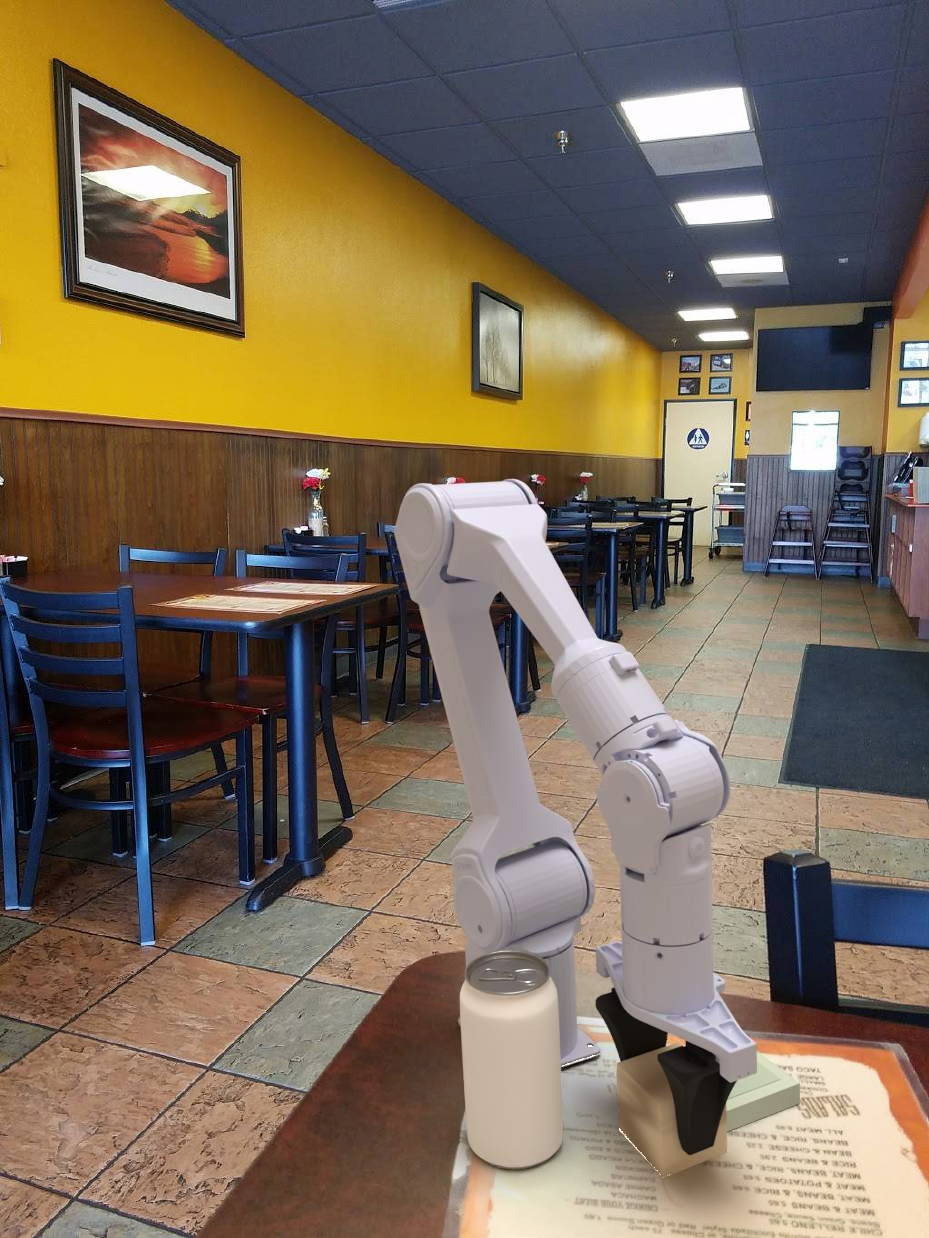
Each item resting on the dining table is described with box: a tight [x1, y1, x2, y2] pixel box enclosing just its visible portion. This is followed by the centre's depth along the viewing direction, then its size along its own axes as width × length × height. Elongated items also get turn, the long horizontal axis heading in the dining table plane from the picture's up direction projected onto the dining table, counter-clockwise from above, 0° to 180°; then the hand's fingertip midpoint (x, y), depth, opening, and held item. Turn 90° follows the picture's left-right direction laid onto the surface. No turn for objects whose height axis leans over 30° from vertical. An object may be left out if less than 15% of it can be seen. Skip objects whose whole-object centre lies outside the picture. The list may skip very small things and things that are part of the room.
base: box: [726, 1050, 801, 1133], centre depth 68 cm, size 7×7×2 cm
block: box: [615, 1042, 728, 1178], centre depth 62 cm, size 5×5×5 cm
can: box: [459, 950, 564, 1170], centre depth 63 cm, size 6×6×12 cm
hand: (671, 1121), depth 63 cm, fingers open, 5 cm apart
